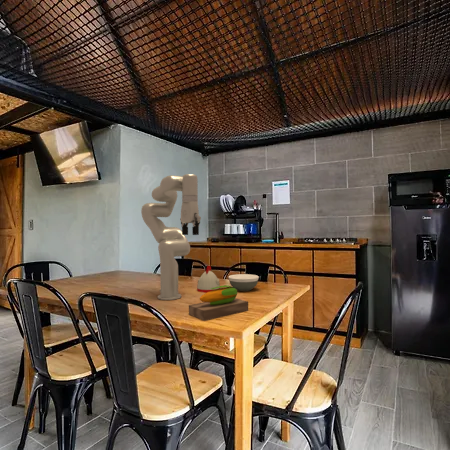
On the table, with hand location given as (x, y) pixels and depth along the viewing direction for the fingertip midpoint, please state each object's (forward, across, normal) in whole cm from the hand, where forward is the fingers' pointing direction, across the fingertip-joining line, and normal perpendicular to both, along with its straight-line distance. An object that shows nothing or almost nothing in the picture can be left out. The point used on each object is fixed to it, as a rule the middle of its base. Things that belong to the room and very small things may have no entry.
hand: (190, 234), depth 147 cm
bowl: (+35, -12, +45) cm, 58 cm away
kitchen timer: (+35, -25, +28) cm, 51 cm away
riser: (+34, +19, +3) cm, 39 cm away
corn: (+31, +19, +3) cm, 36 cm away
